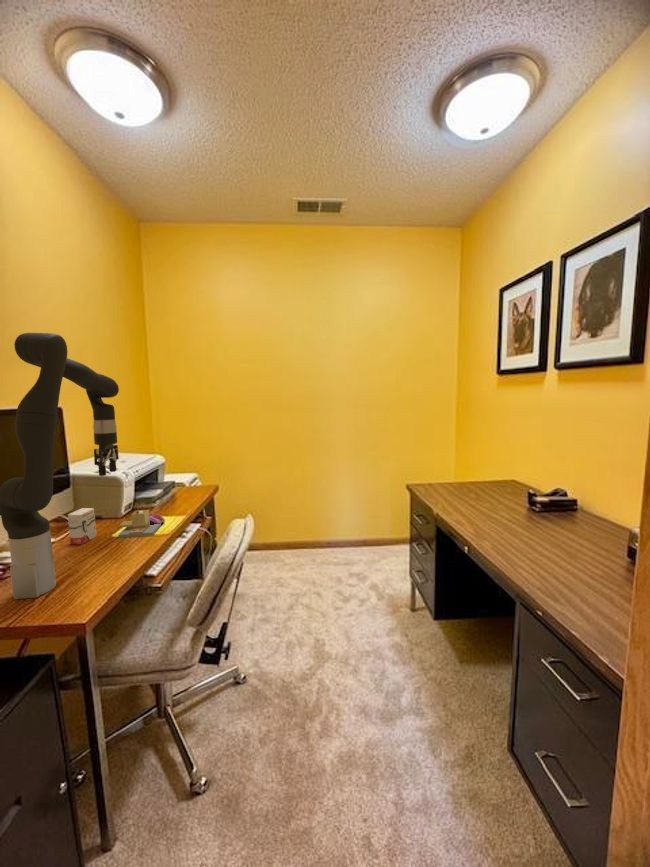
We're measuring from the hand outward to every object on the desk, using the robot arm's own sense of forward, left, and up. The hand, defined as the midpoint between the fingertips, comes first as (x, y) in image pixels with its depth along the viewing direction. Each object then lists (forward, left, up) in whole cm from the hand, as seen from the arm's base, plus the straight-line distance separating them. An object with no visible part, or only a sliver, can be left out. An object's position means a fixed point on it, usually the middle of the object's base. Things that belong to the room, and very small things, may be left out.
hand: (108, 473), depth 139 cm
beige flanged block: (+7, -5, -23) cm, 25 cm away
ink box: (0, +11, -26) cm, 28 cm away
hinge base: (+7, -8, -26) cm, 28 cm away
